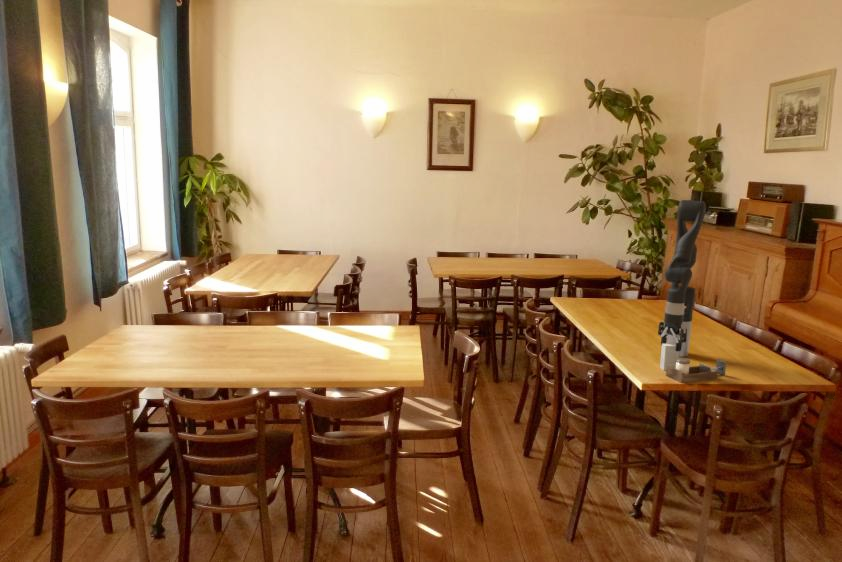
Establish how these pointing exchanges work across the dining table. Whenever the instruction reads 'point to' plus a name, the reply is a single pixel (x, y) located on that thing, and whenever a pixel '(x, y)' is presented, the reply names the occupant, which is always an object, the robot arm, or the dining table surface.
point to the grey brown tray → (690, 374)
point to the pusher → (719, 367)
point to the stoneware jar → (683, 365)
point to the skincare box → (668, 356)
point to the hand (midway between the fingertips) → (670, 348)
